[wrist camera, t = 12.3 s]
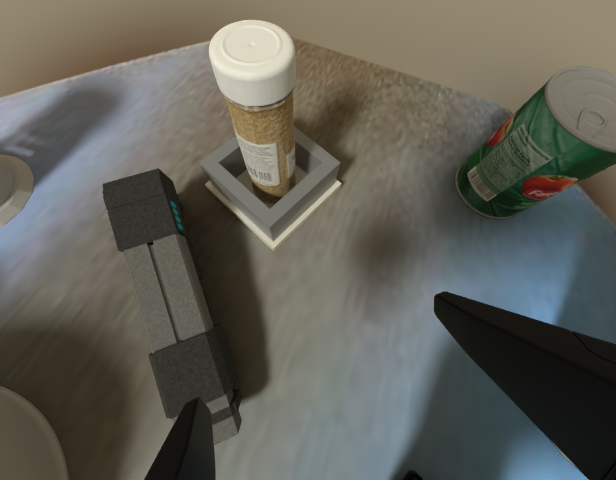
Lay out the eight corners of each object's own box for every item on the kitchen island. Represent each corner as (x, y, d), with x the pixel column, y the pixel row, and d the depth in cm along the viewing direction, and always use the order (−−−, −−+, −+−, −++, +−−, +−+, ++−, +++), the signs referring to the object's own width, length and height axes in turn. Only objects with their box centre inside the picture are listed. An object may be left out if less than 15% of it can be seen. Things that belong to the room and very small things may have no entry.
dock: (340, 188, 27) (348, 162, 22) (274, 251, 24) (269, 235, 20) (275, 136, 29) (271, 103, 24) (208, 189, 26) (190, 162, 22)
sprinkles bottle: (305, 185, 25) (313, 44, 13) (273, 213, 24) (247, 88, 11) (274, 159, 26) (254, 4, 14) (242, 184, 25) (187, 40, 12)
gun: (189, 187, 26) (140, 152, 16) (253, 362, 26) (245, 433, 16) (145, 200, 25) (64, 172, 15) (212, 380, 26) (178, 466, 16)
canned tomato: (475, 147, 29) (572, 50, 19) (535, 186, 28) (677, 104, 17) (441, 188, 27) (530, 104, 17) (504, 234, 26) (645, 171, 15)
